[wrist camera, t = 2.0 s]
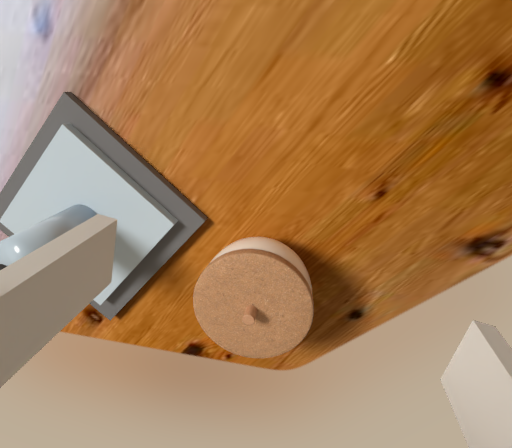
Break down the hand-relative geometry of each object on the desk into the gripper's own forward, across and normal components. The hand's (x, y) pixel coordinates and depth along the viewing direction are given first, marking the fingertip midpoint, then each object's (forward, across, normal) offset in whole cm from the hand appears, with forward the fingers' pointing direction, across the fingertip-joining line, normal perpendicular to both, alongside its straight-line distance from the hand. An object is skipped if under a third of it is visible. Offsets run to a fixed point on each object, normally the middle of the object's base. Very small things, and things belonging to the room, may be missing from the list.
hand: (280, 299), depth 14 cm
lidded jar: (+24, -1, -11) cm, 26 cm away
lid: (+22, -20, -11) cm, 32 cm away
